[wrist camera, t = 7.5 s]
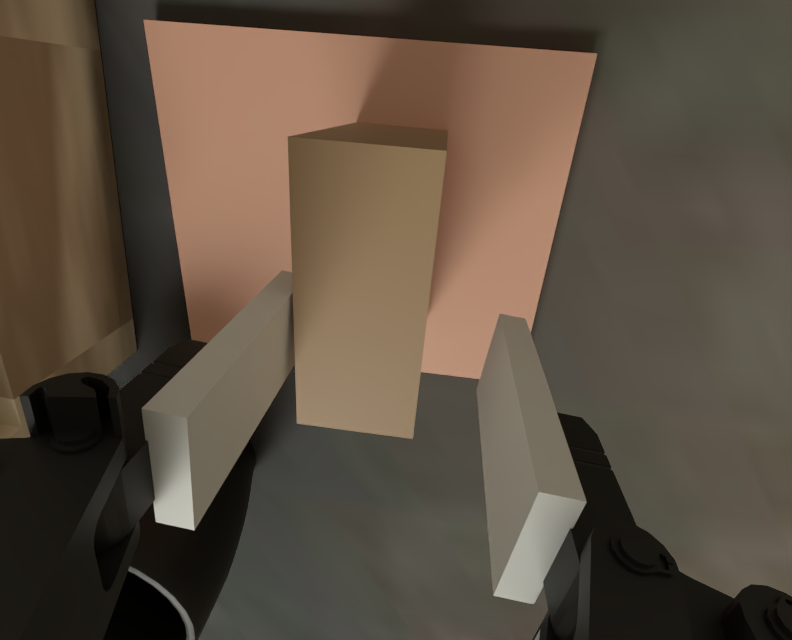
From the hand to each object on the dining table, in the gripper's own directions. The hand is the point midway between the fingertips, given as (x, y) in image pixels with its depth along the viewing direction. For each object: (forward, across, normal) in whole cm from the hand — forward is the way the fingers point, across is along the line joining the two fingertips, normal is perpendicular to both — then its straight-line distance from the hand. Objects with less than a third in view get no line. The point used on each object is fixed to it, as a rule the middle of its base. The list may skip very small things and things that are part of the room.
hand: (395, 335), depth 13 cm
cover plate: (+8, -3, +1) cm, 8 cm away
